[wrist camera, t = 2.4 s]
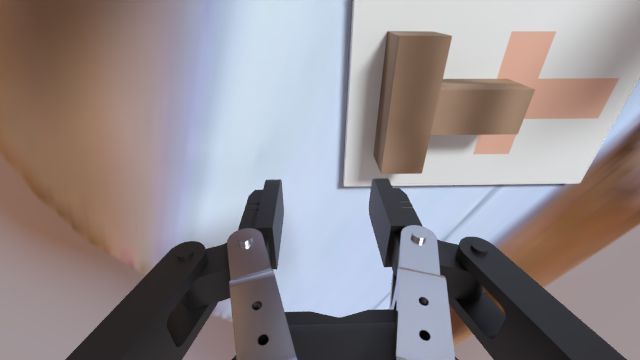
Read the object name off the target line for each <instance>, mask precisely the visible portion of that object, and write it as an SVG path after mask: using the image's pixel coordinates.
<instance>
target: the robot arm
mask: <svg viewBox="0 0 640 360" xmlns="http://www.w3.org/2000/svg"><path fill="white" fill-rule="evenodd" d="M369 215H370V219H371V223H372V226H373V230H374V233H375V237H376V241H377V244H378V248H379V251H380V255H381V258H382V262H383V265H384V267H392V269H393V276H392V283H391V295H390V306H389V309H388V310H366V311H363V312H359V313H356V314H352V315H349V316H345V317H341V318H338V317H333V316H328V315H323V314H319V313H314V312H284V309H283V305H282V301H281V297H280V293H279V290H278V286H277V282H276V278H275V275H274V271H273V270H272V269H277V266H278V257H279V249H280V241H281V233H282V225H283V216H284V206H283V193H282V182H281V180H266V181H265V185H264V189H263V190H255V191H254V192H253V193H252V194H251V195H250V196H249V197H248V200H247V205H246V207H245V211H244V213H243V216H242V219H241V222H240V226H239V229H238V231H236V232H234V233H233V234H232V235H230V237H229V238H228V240H227V243H225V244H223V245H220V246H216V247H212V248H208V249H205V247H204V245H203V244H202V243H200V242H195V241H190V242H184V243H181V244H179V245H177V246H175V247H174V248H172V249H171V250H170V251H169V252H168V253H167V254H166V255H165V256H164V257H163V258H162V259H161V261H160V262H159V263H158V264H157V265H156V266H155V267H154V268H153V269H152V270H151V271H150V272H149V273H148V274H147V275H146V276H145V277H144V278H143V279H142V280H141V281H140V282H139V284H138V285H137V286H136V287H135V288H134V289H133V290H132V291H131V292H130V293H129V294H128V295H127V296H126V297H125V298H124V299H123V300H122V301H121V302H120V304H118V305H117V306H116V307H115V308H114V310H113V311H112V312H111V313H110V314H109V315H108V316H107V317H106V318H105V319H104V320H103V321H102V322H101V323H100V324H99V325H98V326H97V328H95V329H94V331H93V332H91V333H90V335H89V336H88V337H87V338H86V339H85V340H84V341H83V342H82V343H81V344H80V345H79V346H78V347H77V348H76V349H75V350H74V351H73V352H72V353H71V354H70V355H69V357H67V359H66V360H182V359H183V357H184V355H185V354H186V352H187V351H188V349H189V348H190V346H191V344H192V343H193V341H194V340H195V338H196V337H197V335H198V333H199V332H200V330H201V329H202V327H203V326H204V324H205V322H206V321H207V319H208V318H209V316H210V314H211V313H212V311H213V310H214V308H215V307H216V305H217V303H218V302H219V301H222V300H225V299H228V298H231V307H232V318H233V327H234V338H235V349H236V355H235V357H234V358H233V359H232V360H458V359H457V358H456V357H455V355H454V346H453V337H452V328H451V319H450V310H449V304H450V305H451V306H452V308H453V309H454V310H455V311H456V313H457V314H458V315H459V316H460V318H461V319H462V320H463V321H464V323H465V324H466V325H467V327H468V328H469V329H470V330H471V332H472V333H473V334H474V335H475V336H476V338H477V339H478V340H479V342H480V343H481V344H482V345H483V347H484V348H485V349H486V350H487V352H488V353H489V354H490V355H491V357H492V358H493V359H494V360H627V359H625V358H624V357H623V356H622V355H621V354H620V353H618V352H617V351H616V350H615V349H614V348H613V347H611V346H610V345H609V344H608V343H607V342H606V341H604V340H603V339H602V338H601V337H600V336H598V335H597V334H596V333H595V332H594V331H593V330H592V329H590V328H589V327H588V326H587V325H586V324H585V323H583V322H582V321H581V320H580V319H579V318H578V317H576V316H575V315H574V314H573V313H572V312H571V311H569V310H568V309H567V308H566V307H565V306H564V305H562V304H561V303H560V302H559V301H558V300H557V299H555V298H554V297H553V296H552V295H551V294H550V293H548V292H547V291H546V290H545V289H544V288H543V287H542V286H540V285H539V284H538V283H537V282H536V281H535V280H533V279H532V278H531V277H530V276H529V275H528V274H526V273H525V272H524V271H523V270H522V269H521V268H519V267H518V266H517V265H516V264H515V263H514V262H512V261H511V260H510V259H509V258H508V257H507V256H505V255H504V254H503V253H502V252H501V251H500V250H498V249H497V248H496V247H495V246H494V245H492V244H491V243H490V242H488V241H486V240H484V239H481V238H477V237H465V238H463V239H462V240H461V241H460V243H459V245H457V244H452V243H447V242H443V241H440V240H437V238H436V236H435V234H434V233H433V232H432V231H430V230H429V229H427V228H425V227H423V226H422V224H421V222H420V220H419V218H418V216H417V214H416V212H415V210H414V208H413V206H412V204H411V202H410V200H409V198H408V196H407V194H405V193H404V192H403V191H402V190H401V189H399V188H392V185H391V183H390V181H389V179H388V178H380V179H372V183H371V192H370V201H369ZM485 289H486V290H487V291H488V292H489V293H490V294H491V296H492V297H493V298H494V299H495V300H496V301H497V302H498V303H499V304H500V305H501V306H502V308H503V309H504V312H505V313H504V312H503V311H502V310H501V309H500V308H499V307H498V306H497V305H496V304H495V303H494V302H493V301H492V300H491V299H490V297H489V296H488V295H487V294H486V293H485V292H484V290H485Z"/></svg>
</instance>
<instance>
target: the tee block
mask: <svg viewBox="0 0 640 360" xmlns="http://www.w3.org/2000/svg"><path fill="white" fill-rule="evenodd" d="M451 39H452V36H451V35H447V34H442V33H438V32H434V31H387V38H386V47H385V56H384V65H383V73H382V82H381V91H380V100H379V109H378V118H377V127H376V136H375V144H374V153H373V156H374V158H375V161H376V163H377V166H378V168H379V170H380V173H381V174H422V171H423V166H424V162H425V157H426V153H427V148H428V144H429V139H430V135H500V134H518V132H519V130H520V127H521V125H522V122H523V120H524V117H525V114H526V112H527V109H528V107H529V104H530V102H531V99H532V97H533V94H534V91H535V89H533V88H530V87H528V86H525V85H522V84H520V83H517V82H515V81H512V80H509V79H443V76H444V71H445V67H446V62H447V58H448V53H449V48H450V44H451Z"/></svg>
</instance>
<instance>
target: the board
mask: <svg viewBox="0 0 640 360" xmlns="http://www.w3.org/2000/svg"><path fill="white" fill-rule="evenodd" d="M387 31H434V32H438V33H442V34H447V35H451V36H452V39H451V44H450V48H449V53H448V58H447V62H446V67H445V71H444V76H443V79H509V80H512V81H515V82H517V83H520V84H522V85H525V86H528V87H530V88H533V89H535V91H534V94H533V97H532V99H531V102H530V104H529V107H528V109H527V112H526V114H525V117H524V120H523V122H522V125H521V127H520V130H519V132H518V134H500V135H430V139H429V144H428V148H427V153H426V157H425V162H424V166H423V171H422V174H381V173H380V170H379V168H378V166H377V163H376V161H375V158H374V156H373V153H374V144H375V136H376V127H377V118H378V109H379V100H380V91H381V82H382V73H383V65H384V56H385V47H386V38H387ZM639 78H640V0H353V3H352V22H351V40H350V59H349V78H348V96H347V115H346V134H345V153H344V171H343V184H344V187H351V186H371V183H372V179H380V178H388V179H389V181H390V183H391V185H392V186H424V185H497V184H570V183H580V182H581V181H582V179H583V177H584V175H585V174H586V172H587V170H588V168H589V166H590V165H591V163H592V161H593V159H594V158H595V156H596V154H597V152H598V151H599V149H600V147H601V145H602V144H603V142H604V140H605V138H606V137H607V135H608V133H609V131H610V129H611V128H612V126H613V124H614V122H615V121H616V119H617V117H618V115H619V114H620V112H621V110H622V108H623V107H624V105H625V103H626V101H627V100H628V98H629V96H630V94H631V92H632V91H633V89H634V87H635V85H636V84H637V82H638V80H639Z"/></svg>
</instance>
